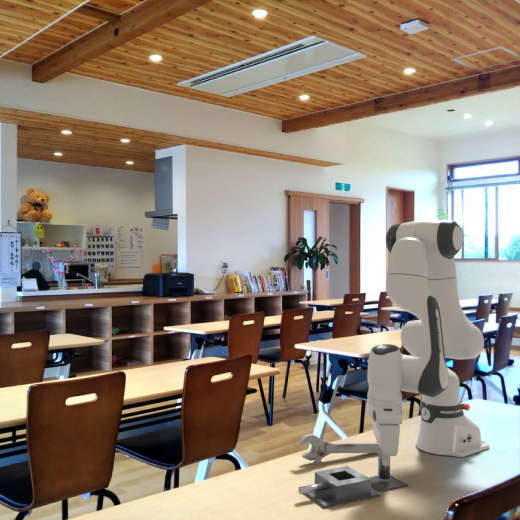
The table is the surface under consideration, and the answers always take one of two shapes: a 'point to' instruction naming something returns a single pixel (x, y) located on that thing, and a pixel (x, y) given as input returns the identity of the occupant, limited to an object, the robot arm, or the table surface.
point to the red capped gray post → (382, 467)
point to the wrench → (334, 447)
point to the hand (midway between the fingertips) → (384, 461)
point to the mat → (386, 483)
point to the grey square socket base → (339, 487)
